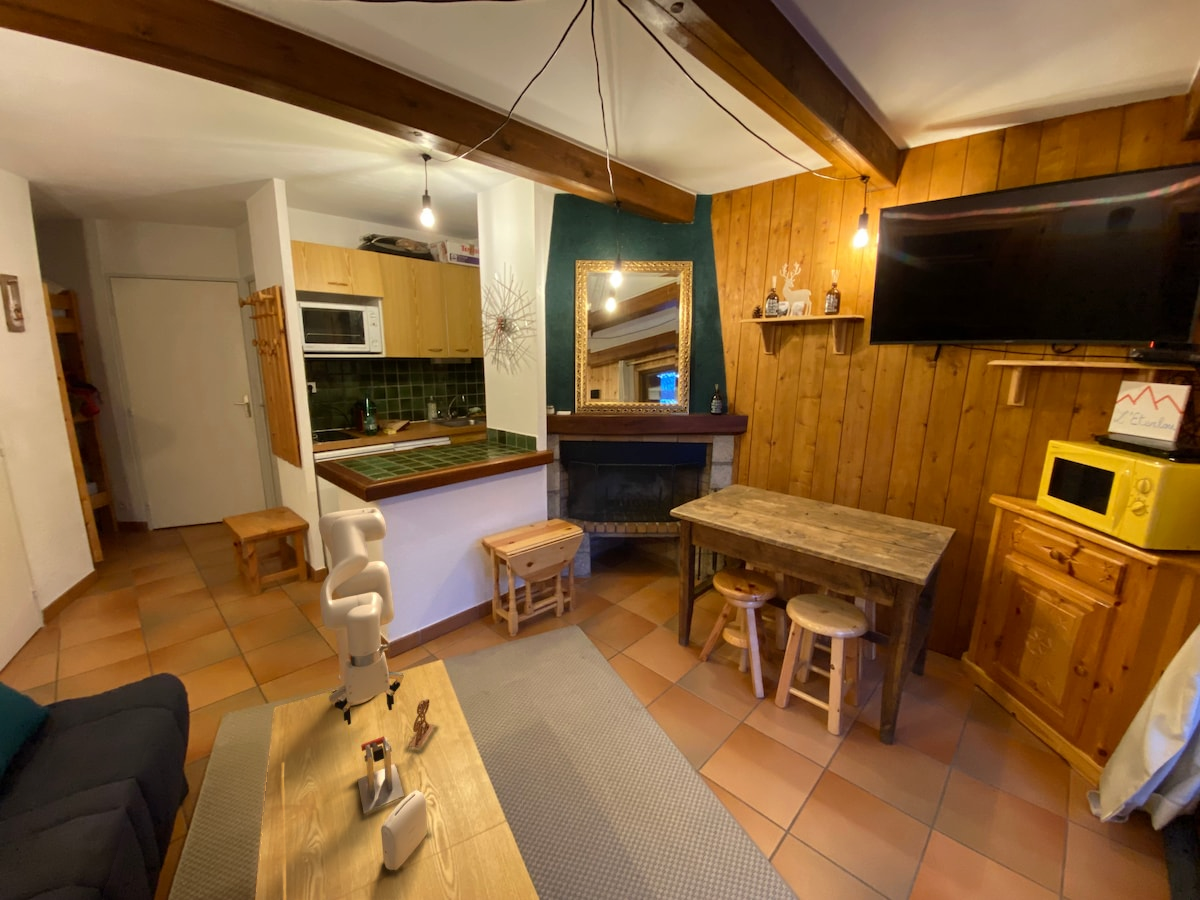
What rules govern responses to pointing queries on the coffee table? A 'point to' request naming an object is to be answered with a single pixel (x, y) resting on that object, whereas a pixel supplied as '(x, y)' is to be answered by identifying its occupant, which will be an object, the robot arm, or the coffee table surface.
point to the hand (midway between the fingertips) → (369, 714)
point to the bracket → (379, 781)
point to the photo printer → (404, 830)
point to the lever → (375, 748)
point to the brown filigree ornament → (422, 732)
